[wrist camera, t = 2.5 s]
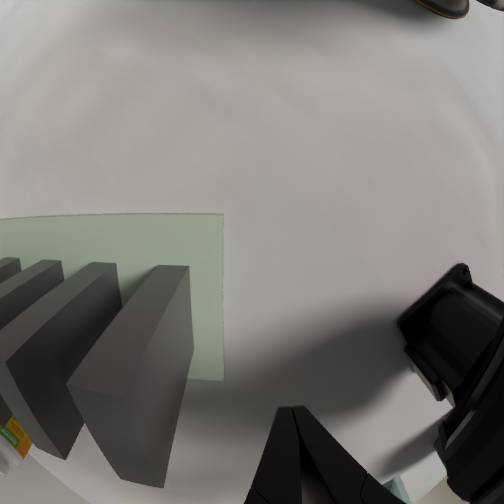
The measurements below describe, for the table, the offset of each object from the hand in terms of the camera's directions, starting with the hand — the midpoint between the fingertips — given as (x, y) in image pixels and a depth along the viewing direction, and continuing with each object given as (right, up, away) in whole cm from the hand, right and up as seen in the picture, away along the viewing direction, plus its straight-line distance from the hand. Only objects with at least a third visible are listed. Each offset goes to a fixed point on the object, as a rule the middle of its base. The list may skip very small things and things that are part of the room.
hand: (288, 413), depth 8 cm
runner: (-18, +3, +6) cm, 19 cm away
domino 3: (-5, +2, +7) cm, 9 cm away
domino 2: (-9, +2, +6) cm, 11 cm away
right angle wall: (+15, -32, +18) cm, 40 cm away
